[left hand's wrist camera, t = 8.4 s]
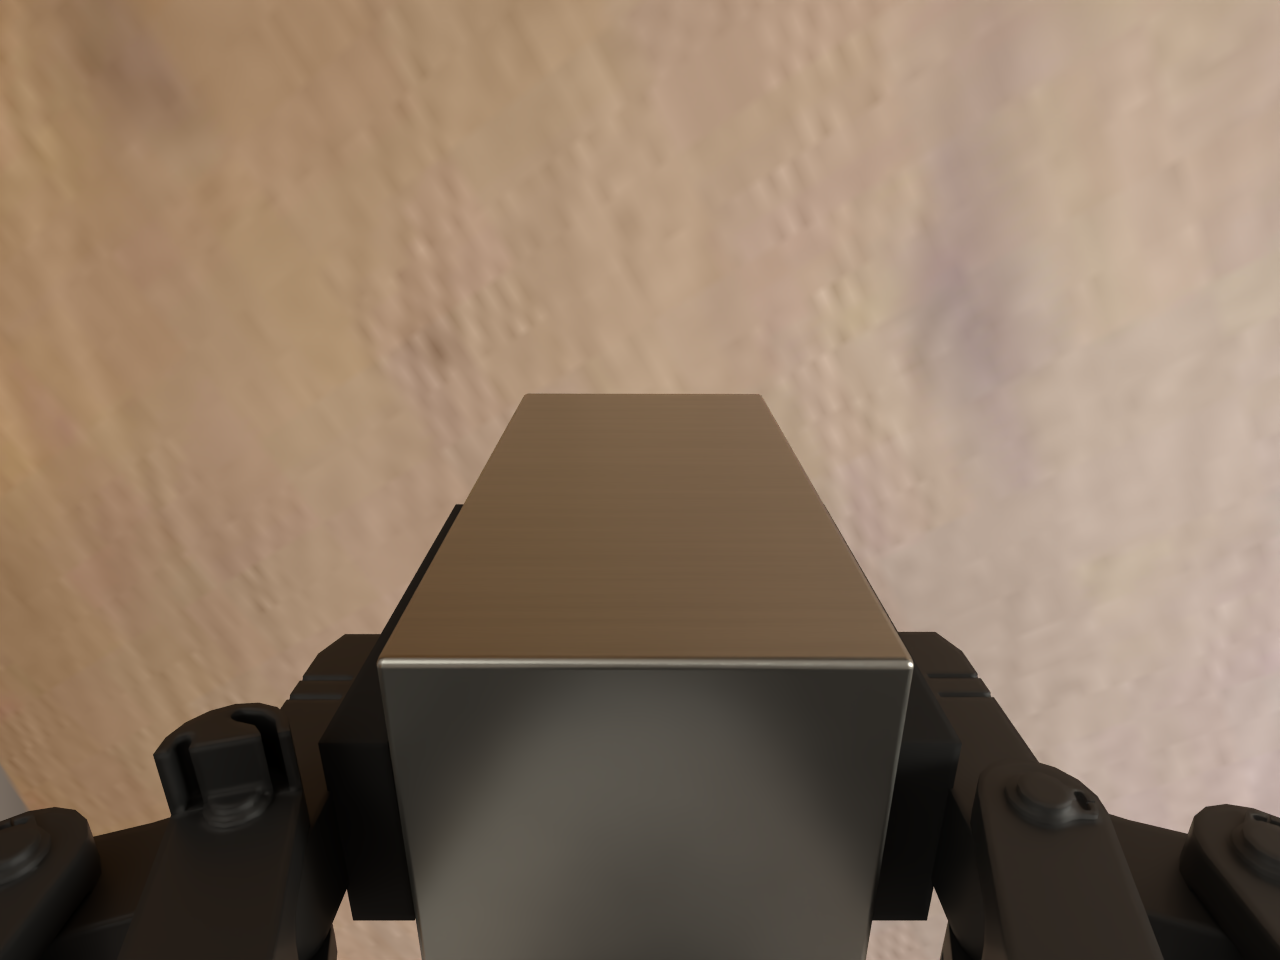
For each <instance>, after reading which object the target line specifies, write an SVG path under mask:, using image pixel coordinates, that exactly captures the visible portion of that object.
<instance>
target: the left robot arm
mask: <svg viewBox="0 0 1280 960" xmlns="http://www.w3.org/2000/svg"><path fill="white" fill-rule="evenodd" d="M463 505H464V504H456V505H455V507H454V509H453V510H452V512H451V514H450V516H449V517H448V519H447V521H446V522H445V524H444V526H443V528H442V529H441V531H440V533H439V535H438V536H437V538H436V540H435V541H434V543H433V545H432V547H431V548H430V550H429V552H428V554H427V555H426V557H425V559H424V560H423V562H422V564H421V566H420V567H419V569H418V571H417V573H416V574H415V576H414V578H413V580H412V581H411V583H410V585H409V586H408V588H407V590H406V592H405V593H404V595H403V597H402V599H401V600H400V602H399V604H398V605H397V607H396V609H395V611H394V612H393V614H392V616H391V618H390V619H389V621H388V623H387V624H386V626H385V628H384V630H383V631H382V633H381V634H345V635H343V636H342V637H341V638H339V639H338V640H337V641H335V642H334V643H332V644H331V645H330V646H328V647H327V648H326V649H324V650H323V651H321V652H320V653H319V654H318V655H317V656H316V658H315V659H314V661H313V662H312V664H311V665H310V667H309V668H308V670H307V671H306V672H305V674H304V675H303V680H302V681H299V683H298V684H297V686H296V687H295V688H294V690H293V691H292V693H291V694H290V699H289V700H286V702H285V703H284V704H283V706H282V707H281V709H279V708H278V707H274V706H270V705H266V704H262V703H246V704H234V705H230V706H226V707H223V708H219V709H215V710H211V711H209V712H207V713H205V714H202V715H200V716H198V717H196V718H194V719H192V720H190V721H188V722H186V723H184V724H183V725H182V726H180V727H179V728H178V729H176V730H175V731H174V732H172V733H171V734H170V735H168V736H167V737H166V738H165V739H164V741H163V742H162V743H161V745H160V746H159V747H158V749H157V750H156V751H155V753H154V754H153V756H154V759H155V763H156V766H157V769H158V773H159V776H160V779H161V783H162V786H163V789H164V792H165V796H166V799H167V802H168V806H169V809H170V812H171V817H170V818H166V819H163V820H160V821H157V822H154V823H150V824H145V825H141V826H137V827H133V828H129V829H124V830H120V831H116V832H112V833H107V834H103V835H99V836H95V837H93V835H92V832H91V830H90V827H89V824H88V821H87V819H86V818H84V817H83V816H82V815H81V814H80V813H78V812H77V811H76V810H72V809H65V808H57V807H53V808H46V809H40V810H34V811H28V812H25V813H22V814H20V815H17V816H14V817H12V818H9V819H6V820H3V821H1V822H0V960H337V947H336V940H335V934H334V929H333V924H332V923H333V920H334V918H335V916H336V913H337V911H338V908H339V906H340V904H341V901H342V899H343V897H344V894H345V892H346V889H347V892H348V897H349V902H350V907H351V912H352V917H353V920H415V918H416V917H415V910H414V904H413V897H412V891H411V884H410V878H409V871H408V865H407V858H406V852H405V845H404V839H403V832H402V826H401V819H400V813H399V806H398V799H397V793H396V786H395V780H394V773H393V767H392V760H391V754H390V747H389V741H388V734H387V728H386V721H385V715H384V708H383V702H382V695H381V688H380V682H379V675H378V669H377V661H378V658H379V656H380V654H381V652H382V650H383V649H384V647H385V645H386V643H387V641H388V640H389V638H390V636H391V634H392V632H393V631H394V629H395V627H396V625H397V623H398V622H399V620H400V618H401V616H402V614H403V613H404V611H405V609H406V607H407V605H408V604H409V602H410V600H411V598H412V596H413V595H414V593H415V591H416V589H417V587H418V586H419V584H420V582H421V580H422V578H423V577H424V575H425V573H426V571H427V570H428V568H429V566H430V564H431V562H432V561H433V559H434V557H435V555H436V553H437V552H438V550H439V548H440V546H441V544H442V543H443V541H444V539H445V537H446V535H447V534H448V532H449V530H450V528H451V526H452V525H453V523H454V521H455V519H456V517H457V516H458V514H459V512H460V510H461V508H462V507H463ZM824 506H825V505H824ZM825 508H826V507H825ZM827 511H828V510H827ZM828 513H829V512H828ZM829 515H830V514H829ZM831 518H832V517H831ZM832 520H833V519H832ZM833 522H834V521H833ZM834 523H835V522H834ZM835 525H836V524H835ZM836 527H837V526H836ZM837 529H838V528H837ZM838 530H839V529H838ZM839 532H840V531H839ZM840 534H841V533H840ZM841 536H842V535H841ZM842 537H843V536H842ZM843 539H844V538H843ZM844 541H845V540H844ZM845 543H846V542H845ZM846 544H847V543H846ZM847 546H848V545H847ZM848 548H849V547H848ZM849 550H850V548H849ZM850 551H851V550H850ZM851 553H852V552H851ZM852 555H853V554H852ZM853 557H854V555H853ZM854 558H855V557H854ZM855 560H856V559H855ZM856 562H857V561H856ZM857 564H858V562H857ZM858 565H859V564H858ZM859 567H860V566H859ZM860 569H861V567H860ZM861 570H862V569H861ZM862 572H863V571H862ZM863 574H864V573H863ZM864 576H865V574H864ZM865 577H866V576H865ZM866 579H867V578H866ZM867 581H868V580H867ZM868 583H869V581H868ZM869 584H870V583H869ZM870 586H871V585H870ZM871 588H872V586H871ZM872 590H873V588H872ZM873 591H874V590H873ZM874 593H875V592H874ZM875 595H876V593H875ZM876 597H877V595H876ZM877 598H878V597H877ZM878 600H879V599H878ZM879 602H880V600H879ZM880 604H881V602H880ZM881 605H882V604H881ZM882 607H883V606H882ZM883 609H884V607H883ZM884 611H885V609H884ZM885 612H886V611H885ZM886 614H887V612H886ZM887 616H888V614H887ZM888 618H889V616H888ZM889 619H890V618H889ZM890 621H891V619H890ZM891 623H892V621H891ZM892 625H893V623H892ZM893 626H894V625H893ZM894 628H895V626H894ZM895 630H896V628H895ZM896 632H897V633H898V635H899V637H900V639H901V640H902V642H903V644H904V646H905V647H906V649H907V651H908V653H909V654H910V656H911V658H912V661H913V664H914V667H913V674H912V680H911V686H910V692H909V698H908V704H907V710H906V716H905V722H904V729H903V735H902V741H901V747H900V753H899V759H898V765H897V771H896V777H895V783H894V790H893V796H892V802H891V808H890V814H889V820H888V826H887V832H886V838H885V844H884V850H883V857H882V863H881V869H880V875H879V881H878V887H877V893H876V899H875V905H874V911H873V917H872V920H927V917H928V912H929V907H930V902H931V897H932V892H933V887H934V888H935V890H936V893H937V895H938V898H939V900H940V902H941V905H942V907H943V910H944V912H945V914H946V917H947V919H948V924H947V929H946V934H945V938H944V943H943V948H942V952H941V957H940V960H1280V818H1278V817H1276V816H1273V815H1270V814H1267V813H1265V812H1262V811H1259V810H1256V809H1254V808H1248V807H1242V806H1235V805H1229V804H1223V805H1216V806H1209V807H1205V808H1204V809H1203V810H1201V811H1200V812H1199V813H1198V814H1197V815H1195V816H1194V818H1193V821H1192V824H1191V827H1190V830H1189V832H1188V834H1186V833H1182V832H1177V831H1173V830H1169V829H1165V828H1160V827H1156V826H1152V825H1148V824H1143V823H1139V822H1135V821H1131V820H1127V819H1124V818H1120V817H1117V816H1114V815H1111V814H1108V812H1107V811H1106V809H1105V807H1104V806H1103V804H1102V803H1101V801H1100V800H1099V798H1098V796H1097V795H1095V794H1094V793H1093V792H1092V791H1091V790H1090V789H1088V788H1087V787H1086V786H1085V785H1084V784H1083V783H1081V782H1080V781H1079V780H1078V779H1076V778H1074V777H1072V776H1070V775H1068V774H1066V773H1065V772H1063V771H1061V770H1059V769H1057V768H1055V767H1052V766H1049V765H1045V764H1042V763H1039V762H1038V760H1037V759H1036V758H1035V756H1034V755H1033V753H1032V752H1031V750H1030V749H1029V747H1028V746H1027V745H1026V743H1025V742H1024V740H1023V739H1022V737H1021V736H1020V734H1019V733H1018V732H1017V730H1016V729H1015V727H1014V726H1013V724H1012V723H1011V721H1010V720H1009V719H1008V717H1007V716H1006V714H1005V713H1004V711H1003V710H1002V708H1001V707H1000V706H999V704H998V703H997V701H996V700H995V698H994V697H991V695H990V691H989V690H988V688H987V687H986V685H985V684H984V682H983V681H982V680H981V678H978V676H977V672H976V671H975V669H974V668H973V667H972V665H971V664H970V662H969V661H968V659H967V658H966V656H965V655H964V654H963V652H962V651H961V650H959V649H958V648H957V647H955V646H954V645H953V644H951V643H950V642H948V641H947V640H946V639H944V638H943V637H942V636H940V635H939V634H937V633H936V632H898V631H897V630H896Z"/></svg>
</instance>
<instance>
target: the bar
mask: <svg viewBox="0 0 1280 960" xmlns="http://www.w3.org/2000/svg"><path fill="white" fill-rule="evenodd" d="M913 667H914V664H913V661H912V658H911V656H910V654H909V653H908V651H907V649H906V647H905V646H904V644H903V642H902V640H901V639H900V637H899V635H898V633H897V632H896V630H895V628H894V626H893V625H892V623H891V621H890V619H889V618H888V616H887V614H886V612H885V611H884V609H883V607H882V605H881V604H880V602H879V600H878V598H877V597H876V595H875V593H874V591H873V590H872V588H871V586H870V584H869V583H868V581H867V579H866V577H865V576H864V574H863V572H862V570H861V569H860V567H859V565H858V564H857V562H856V560H855V558H854V557H853V555H852V553H851V551H850V550H849V548H848V546H847V544H846V543H845V541H844V539H843V537H842V536H841V534H840V532H839V530H838V529H837V527H836V525H835V523H834V522H833V520H832V518H831V516H830V515H829V513H828V511H827V509H826V508H825V506H824V504H823V502H822V501H821V499H820V497H819V495H818V494H817V492H816V490H815V488H814V487H813V485H812V483H811V481H810V480H809V478H808V476H807V474H806V473H805V471H804V469H803V467H802V466H801V464H800V462H799V460H798V459H797V457H796V455H795V453H794V452H793V450H792V448H791V446H790V445H789V443H788V441H787V439H786V438H785V436H784V434H783V432H782V431H781V429H780V427H779V425H778V424H777V422H776V420H775V419H774V417H773V415H772V413H771V412H770V410H769V408H768V406H767V405H766V403H765V401H764V399H763V398H762V396H761V395H759V394H526V395H524V397H523V399H522V401H521V402H520V404H519V406H518V408H517V410H516V411H515V413H514V415H513V417H512V419H511V420H510V422H509V424H508V426H507V428H506V429H505V431H504V433H503V435H502V437H501V438H500V440H499V442H498V444H497V446H496V447H495V449H494V451H493V453H492V455H491V456H490V458H489V460H488V462H487V464H486V465H485V467H484V469H483V471H482V472H481V474H480V476H479V478H478V480H477V481H476V483H475V485H474V487H473V489H472V490H471V492H470V494H469V496H468V498H467V499H466V501H465V503H464V505H463V507H462V508H461V510H460V512H459V514H458V516H457V517H456V519H455V521H454V523H453V525H452V526H451V528H450V530H449V532H448V534H447V535H446V537H445V539H444V541H443V543H442V544H441V546H440V548H439V550H438V552H437V553H436V555H435V557H434V559H433V561H432V562H431V564H430V566H429V568H428V570H427V571H426V573H425V575H424V577H423V578H422V580H421V582H420V584H419V586H418V587H417V589H416V591H415V593H414V595H413V596H412V598H411V600H410V602H409V604H408V605H407V607H406V609H405V611H404V613H403V614H402V616H401V618H400V620H399V622H398V623H397V625H396V627H395V629H394V631H393V632H392V634H391V636H390V638H389V640H388V641H387V643H386V645H385V647H384V649H383V650H382V652H381V654H380V656H379V658H378V661H377V669H378V675H379V682H380V688H381V695H382V702H383V708H384V715H385V721H386V728H387V734H388V741H389V747H390V754H391V760H392V767H393V773H394V780H395V786H396V793H397V799H398V806H399V813H400V819H401V826H402V832H403V839H404V845H405V852H406V858H407V865H408V871H409V878H410V884H411V891H412V897H413V904H414V910H415V917H416V924H417V930H418V937H419V943H420V950H421V956H422V960H866V954H867V948H868V942H869V936H870V930H871V924H872V917H873V911H874V905H875V899H876V893H877V887H878V881H879V875H880V869H881V863H882V857H883V850H884V844H885V838H886V832H887V826H888V820H889V814H890V808H891V802H892V796H893V790H894V783H895V777H896V771H897V765H898V759H899V753H900V747H901V741H902V735H903V729H904V722H905V716H906V710H907V704H908V698H909V692H910V686H911V680H912V674H913Z"/></svg>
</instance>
